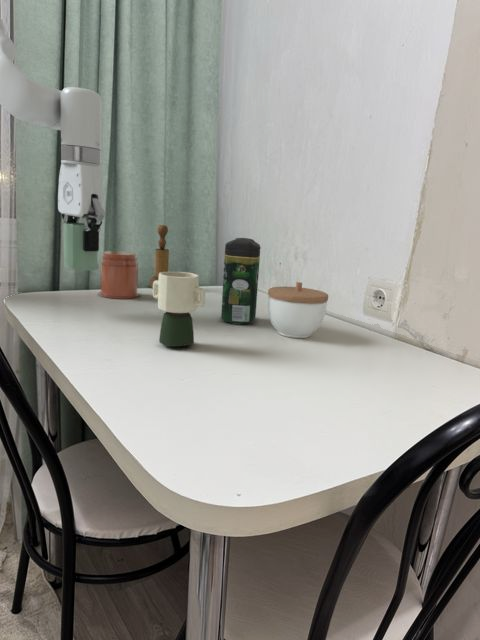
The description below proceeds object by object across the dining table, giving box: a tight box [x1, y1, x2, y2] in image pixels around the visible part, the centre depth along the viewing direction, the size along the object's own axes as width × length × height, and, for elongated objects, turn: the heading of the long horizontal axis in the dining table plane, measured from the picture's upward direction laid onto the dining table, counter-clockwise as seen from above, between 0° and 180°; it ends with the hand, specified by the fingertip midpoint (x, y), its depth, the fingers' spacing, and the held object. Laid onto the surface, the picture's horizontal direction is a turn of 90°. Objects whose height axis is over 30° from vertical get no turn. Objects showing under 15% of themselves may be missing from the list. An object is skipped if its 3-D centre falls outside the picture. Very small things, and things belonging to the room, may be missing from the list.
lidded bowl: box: [267, 281, 329, 339], centre depth 107 cm, size 13×13×11 cm
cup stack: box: [99, 250, 139, 300], centre depth 131 cm, size 10×10×11 cm
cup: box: [62, 222, 100, 272], centre depth 105 cm, size 7×7×9 cm
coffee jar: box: [220, 237, 262, 325], centre depth 113 cm, size 10×8×19 cm
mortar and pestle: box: [149, 224, 170, 289], centre depth 147 cm, size 7×6×18 cm
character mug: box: [152, 271, 206, 348], centre depth 90 cm, size 11×7×13 cm, turn 64°
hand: (81, 247), depth 105 cm, fingers closed on cup, 6 cm apart
